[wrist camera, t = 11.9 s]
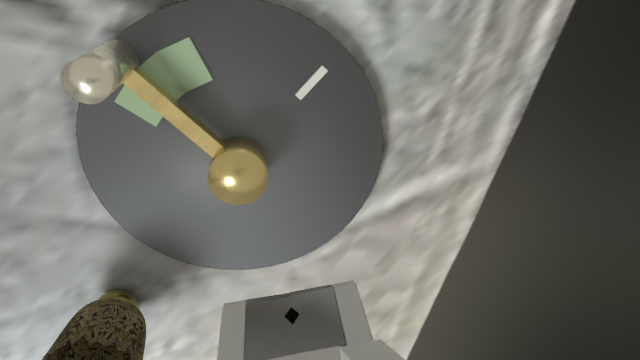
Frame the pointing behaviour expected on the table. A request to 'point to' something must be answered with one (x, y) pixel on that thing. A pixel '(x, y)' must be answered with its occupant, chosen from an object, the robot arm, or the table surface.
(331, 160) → the dial
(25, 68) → the table surface
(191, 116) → the needle
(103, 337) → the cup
